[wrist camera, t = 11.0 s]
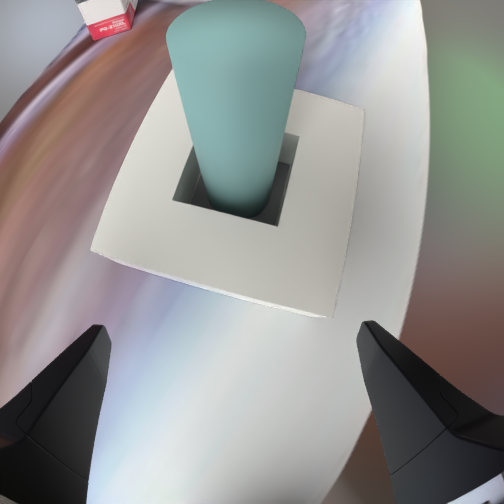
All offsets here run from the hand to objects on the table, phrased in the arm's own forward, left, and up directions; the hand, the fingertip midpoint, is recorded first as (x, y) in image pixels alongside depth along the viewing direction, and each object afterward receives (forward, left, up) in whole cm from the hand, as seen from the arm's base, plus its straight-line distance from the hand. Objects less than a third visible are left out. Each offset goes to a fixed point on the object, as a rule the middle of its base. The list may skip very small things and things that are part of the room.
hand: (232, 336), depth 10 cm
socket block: (+2, -8, -9) cm, 12 cm away
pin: (+2, -8, -8) cm, 11 cm away
